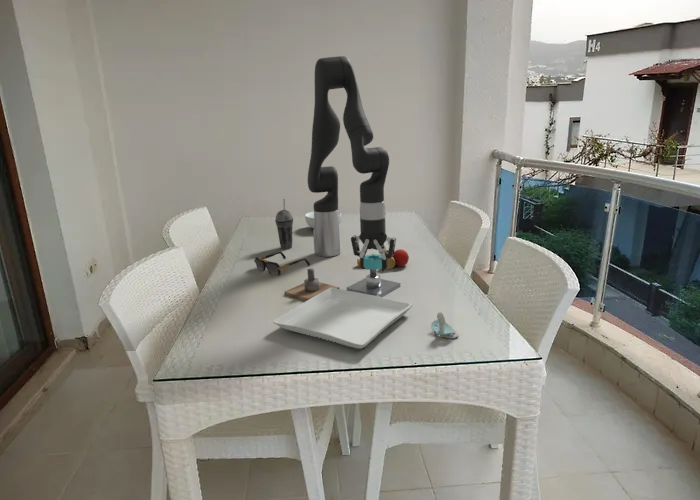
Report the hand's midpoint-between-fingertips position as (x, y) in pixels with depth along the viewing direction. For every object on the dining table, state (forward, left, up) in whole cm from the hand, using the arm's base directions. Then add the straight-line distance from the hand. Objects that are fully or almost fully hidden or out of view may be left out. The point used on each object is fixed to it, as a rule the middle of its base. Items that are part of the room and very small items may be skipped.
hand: (374, 269), depth 150 cm
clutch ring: (0, 0, +1) cm, 1 cm away
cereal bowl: (-63, +48, -7) cm, 80 cm away
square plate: (+8, -24, -7) cm, 26 cm away
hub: (0, 0, -6) cm, 6 cm away
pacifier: (+33, -15, -7) cm, 37 cm away
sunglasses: (-40, -1, -7) cm, 41 cm away
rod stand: (-14, -13, -6) cm, 20 cm away
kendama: (-10, +19, -7) cm, 22 cm away
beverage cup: (-56, +17, -7) cm, 59 cm away
